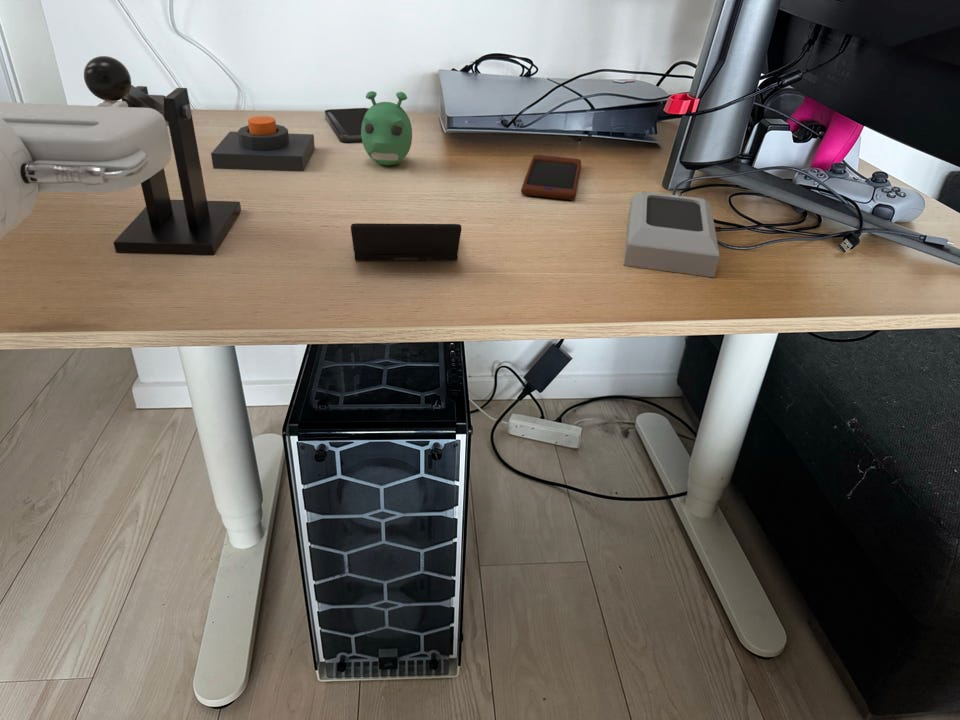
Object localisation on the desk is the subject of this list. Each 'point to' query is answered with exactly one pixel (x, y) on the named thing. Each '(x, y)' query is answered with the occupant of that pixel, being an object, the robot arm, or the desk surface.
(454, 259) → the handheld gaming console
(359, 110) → the phone
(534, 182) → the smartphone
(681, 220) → the grey tapered block
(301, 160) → the button box
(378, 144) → the alien toy
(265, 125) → the button
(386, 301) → the desk surface
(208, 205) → the bracket
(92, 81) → the lever
